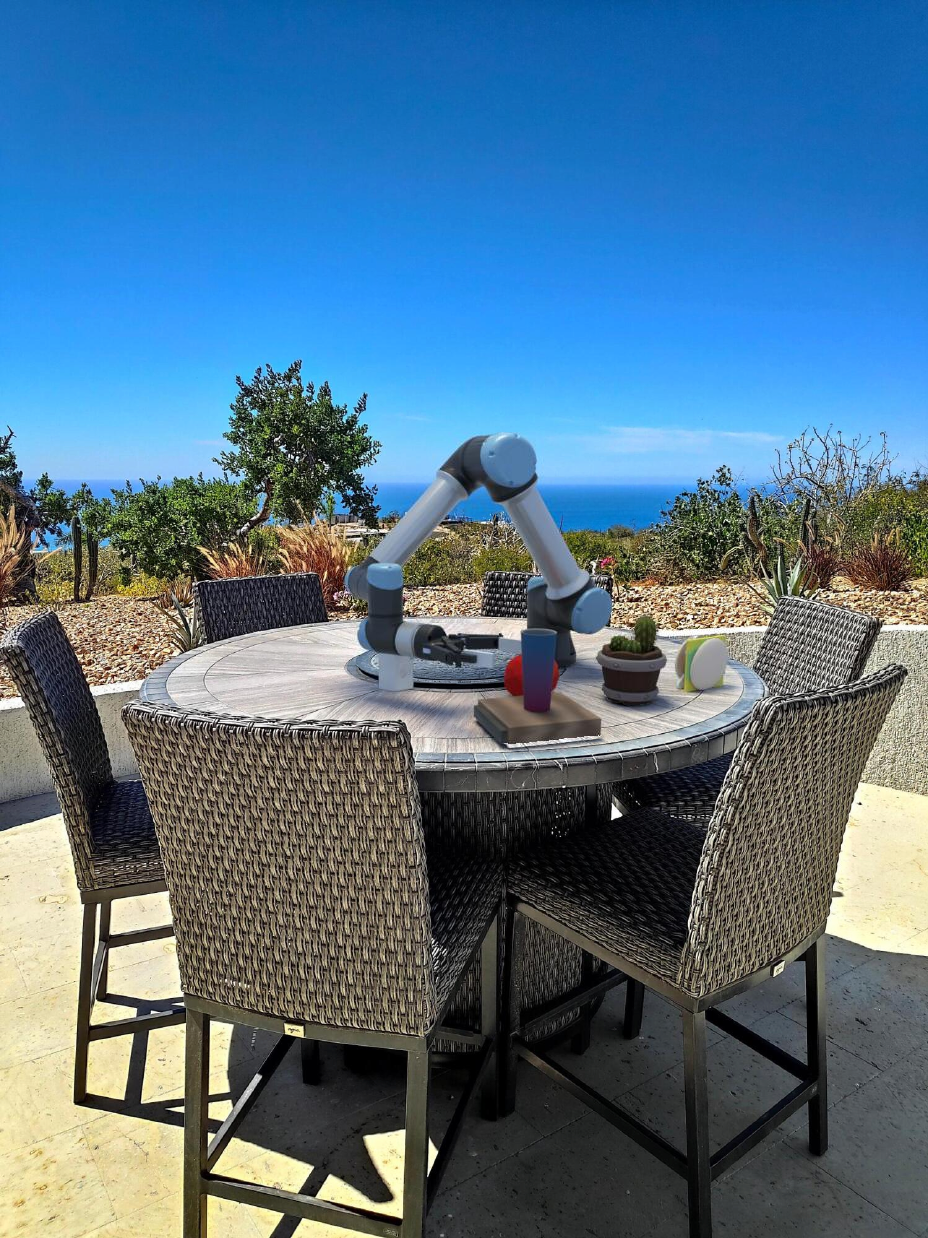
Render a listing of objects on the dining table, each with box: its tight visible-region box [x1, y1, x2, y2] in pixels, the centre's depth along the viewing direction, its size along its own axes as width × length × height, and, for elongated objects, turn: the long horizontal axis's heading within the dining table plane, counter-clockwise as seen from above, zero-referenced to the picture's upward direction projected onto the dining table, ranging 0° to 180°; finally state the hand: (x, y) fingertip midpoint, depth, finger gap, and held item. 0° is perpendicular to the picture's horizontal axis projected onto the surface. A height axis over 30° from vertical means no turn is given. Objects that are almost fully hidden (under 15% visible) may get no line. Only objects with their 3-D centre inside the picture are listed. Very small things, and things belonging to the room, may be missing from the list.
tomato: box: [503, 653, 560, 697], centre depth 158 cm, size 11×13×10 cm
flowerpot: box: [595, 610, 668, 707], centre depth 155 cm, size 14×15×20 cm
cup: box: [520, 628, 557, 712], centre depth 136 cm, size 7×7×15 cm
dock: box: [473, 691, 602, 744], centre depth 137 cm, size 19×18×4 cm
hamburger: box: [674, 634, 729, 693], centre depth 167 cm, size 12×8×12 cm
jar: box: [377, 653, 414, 692], centre depth 166 cm, size 9×8×12 cm
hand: (511, 654), depth 138 cm, fingers open, 13 cm apart
